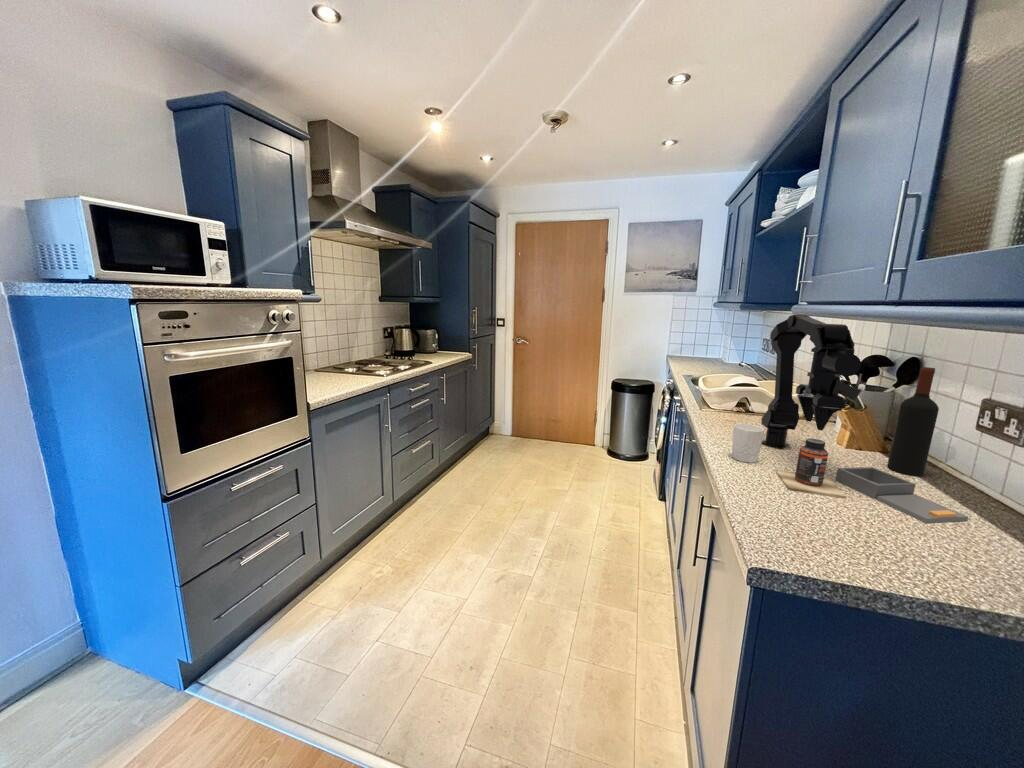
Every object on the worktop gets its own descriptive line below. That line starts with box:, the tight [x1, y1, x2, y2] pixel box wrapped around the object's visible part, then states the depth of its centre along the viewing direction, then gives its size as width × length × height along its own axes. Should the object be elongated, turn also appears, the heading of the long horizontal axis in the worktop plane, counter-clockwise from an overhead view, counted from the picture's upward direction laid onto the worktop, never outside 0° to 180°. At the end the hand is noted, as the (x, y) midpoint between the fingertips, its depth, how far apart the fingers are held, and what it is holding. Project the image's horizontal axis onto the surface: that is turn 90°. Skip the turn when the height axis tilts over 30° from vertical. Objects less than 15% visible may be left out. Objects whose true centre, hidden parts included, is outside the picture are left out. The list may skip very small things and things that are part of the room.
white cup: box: [731, 423, 765, 464], centre depth 121 cm, size 8×8×10 cm
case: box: [835, 466, 969, 524], centre depth 98 cm, size 22×11×4 cm, turn 7°
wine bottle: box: [886, 366, 940, 477], centre depth 113 cm, size 8×8×30 cm
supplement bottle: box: [794, 437, 829, 486], centre depth 104 cm, size 6×6×11 cm
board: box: [775, 469, 847, 499], centre depth 105 cm, size 12×12×1 cm
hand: (814, 425), depth 113 cm, fingers open, 9 cm apart
